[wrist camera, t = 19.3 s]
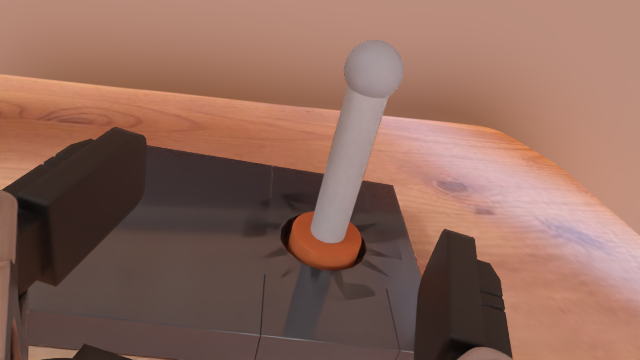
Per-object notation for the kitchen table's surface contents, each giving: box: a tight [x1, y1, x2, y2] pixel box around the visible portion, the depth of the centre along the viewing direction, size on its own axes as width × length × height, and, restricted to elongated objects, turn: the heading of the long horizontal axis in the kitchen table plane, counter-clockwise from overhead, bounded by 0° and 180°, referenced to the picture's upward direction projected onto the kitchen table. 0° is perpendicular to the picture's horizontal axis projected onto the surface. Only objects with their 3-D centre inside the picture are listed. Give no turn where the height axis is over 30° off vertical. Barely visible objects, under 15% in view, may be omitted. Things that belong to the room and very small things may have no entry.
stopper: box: [287, 40, 403, 271], centre depth 28 cm, size 4×4×15 cm
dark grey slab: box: [28, 145, 422, 360], centre depth 31 cm, size 22×16×2 cm
